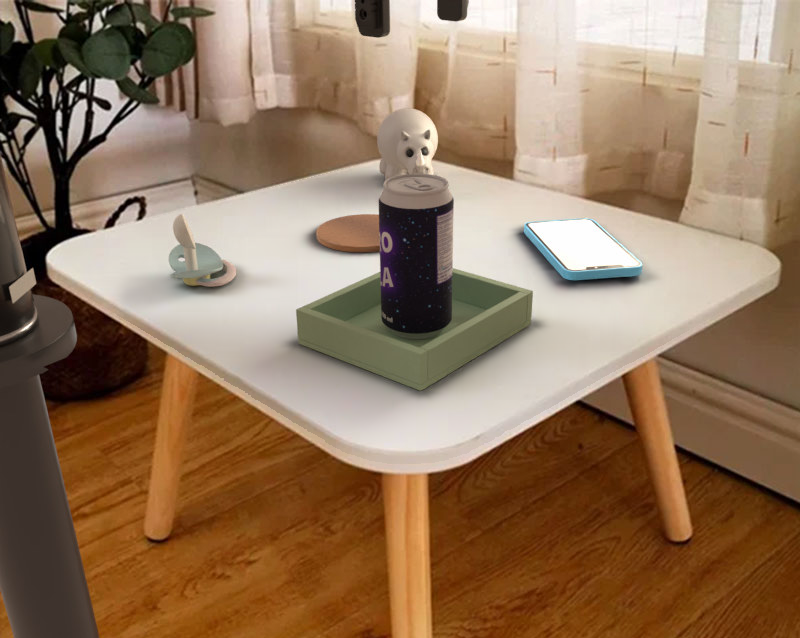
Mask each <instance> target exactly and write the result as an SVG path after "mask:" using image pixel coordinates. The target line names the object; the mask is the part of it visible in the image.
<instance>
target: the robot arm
mask: <svg viewBox="0 0 800 638" xmlns="http://www.w3.org/2000/svg"><path fill="white" fill-rule="evenodd" d="M469 3H470V0H436V15H437V18H438V19H439V20H441V21H446V22H449V21H450V22H462V21H464V20H466V18H467V17H468V8H469ZM390 8H391V0H354V21H355V22H356V27H357V28H358V32H359V34H360V35H361V36H362V37H370V38H377V39H379V38H384V37H388V36H389V35H390V31H391V9H390ZM4 168H5V167H4V163H3V159H2V154H1V153H0V347H2V346H5V345H8V344H10V343H13V342H15V341H17V340H19V339H21V338H23V337H25V336H26V335H28V334H29V333H31V332H32V331H33V330H34V329H35V328H36V326H37V325H38V322H39V318H38V313H37V309H36V307H35V305H34V299H33V294H34V293H33V292H32V289H33V287H35V285H37V280H36V275H35V270H34V267H32V268H30V269H29V270H28V271H27V266H26V262H25V258H24V253H23V249H22V244H21V240H20V235H19V230H18V226H17V222H16V217H15V213H14V209H13V204H12V199H11V195H10V190H9V186H8V181H7V178H6V177H7V176H6V171H5V169H4Z"/></svg>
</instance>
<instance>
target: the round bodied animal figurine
mask: <svg viewBox="0 0 800 638" xmlns="http://www.w3.org/2000/svg"><path fill="white" fill-rule="evenodd" d="M438 135H439V134H438V131H437V127H436V125H435V124H434V122H433V120H432V118H430V117H429V116H428V115H427V114H426V113H425V112H423V111H421V110H418V109H415V108H411V107H406V108H405V107H404V108H400V109H397V110H394V111H392V112H391V113H389V114H388V115H386V116H385V118H384V119H383V120H382V121H381V123H380V125H379V127H378V130H377V136H376V146H377V149H378V152H379V154H380V157H381V158H380V161H379V166H378V167H379V172H380V174H381V175H384V179H385V180H387V179H388V178H391V177H394V176H398V175H403V174H430V175H435V172H434V168H433V164H432V160H433V157H434V156H435V154H436V152H437V149H438V145H439V136H438Z"/></svg>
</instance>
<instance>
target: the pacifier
mask: <svg viewBox="0 0 800 638" xmlns="http://www.w3.org/2000/svg"><path fill="white" fill-rule="evenodd" d="M172 230H173V231H172V232H173V236H174V237H175V239H176V241H177V242H178V244H177V245H176V246H174V247H173V248H172V249H171V250H170V252H169V254H168V263H169V266H170V268H171V269H172V270H173V271H174V272H172V273H170V276H171V278H172V279H182V280H183V282H184V284H185V285H187V286H192V287H195V286H204V287H211V288H212V287H220V286H224V285H227V284H229V283H230V282H231V281H233V280H234V279H235V278H236V275H237V269H236V267H235V265H234V264H233V263H231V262H229V261H228V260H225V259H222V257H221V256H220V255H219V254H218V253H217V251H215V250H214V249H213V248H211V247H210V246H208V245H205V244H203V243H199V242H195V238H194V236H193V232H192V230H191V227H190V226H189V223H188V221H187V219H186V217H185V215H184V214H183V213H180V214H179V215H176V217H175V218H174V220H173V224H172ZM181 258H182V259H184V261H182V260H179V259H181ZM221 270H224V271H226V272H225V273H224V274H223V275H221V276H219V277H215V278H211V275H213V274H215V273H218V272H219V271H221Z"/></svg>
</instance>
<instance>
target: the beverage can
mask: <svg viewBox="0 0 800 638" xmlns="http://www.w3.org/2000/svg"><path fill="white" fill-rule="evenodd" d="M449 184H450V183H449V181H448V180H447V179H446V178H444V177H442V176H439V175H437V174H436V175H435V174H434V175H430V174H403V175H398V176H394V177H391V178H388V179H387V180H386V179H385V180H384V182H383V183H382V185H383V189H382V191H381V193H380V195H379V197H378V215H379V239H380V251H379V272H380V279H381V319H382V322H383V323H384V324H385V325H386V326H387V327H388V328H390V329H391V330H392V332H393V333H394V334H396V335H397V336H400V337H403V338H408V339H425V338H430V337H433V336H436V335H437V334H439V333H440V332H441V331H442V329H443V328H445V327H446V326H447V325H448V324H449V323H450V322H451V320H452V277H453V268H454V265H453V264H454V208H455V207H454V204H455V202H454V201H455V199H454V196H453V194H452V193H451V190H450V189H449V186H450V185H449Z"/></svg>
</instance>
